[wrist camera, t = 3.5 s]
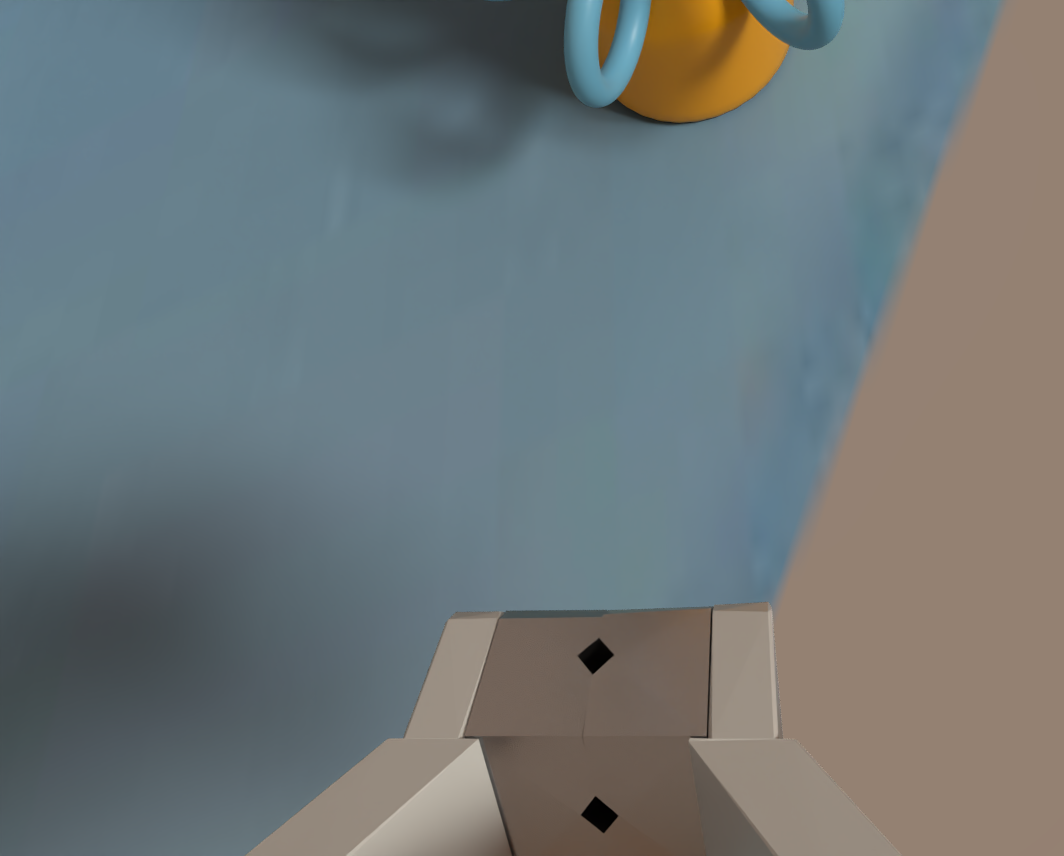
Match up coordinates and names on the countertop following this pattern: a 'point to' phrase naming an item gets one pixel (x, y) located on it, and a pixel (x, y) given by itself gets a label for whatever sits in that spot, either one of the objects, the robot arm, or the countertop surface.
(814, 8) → the vase
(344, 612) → the countertop surface
